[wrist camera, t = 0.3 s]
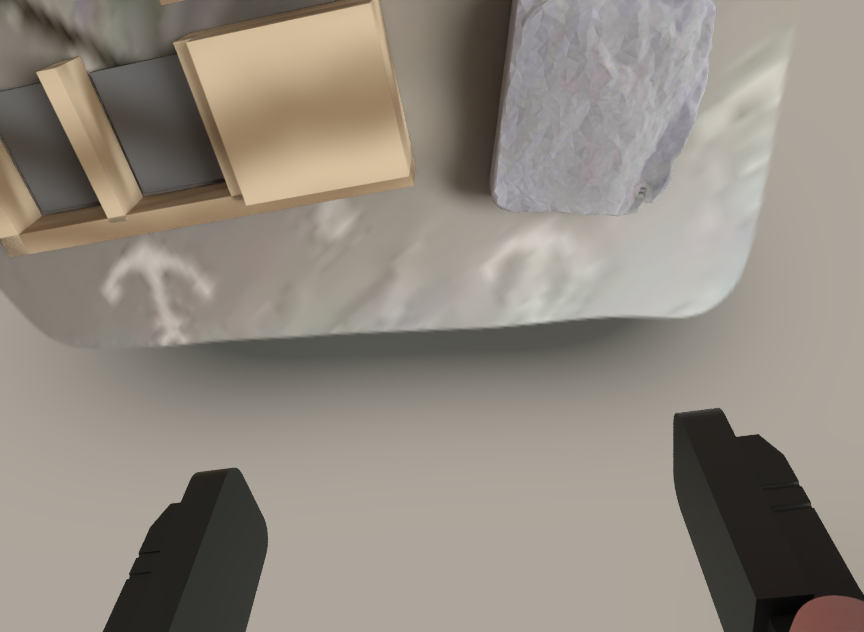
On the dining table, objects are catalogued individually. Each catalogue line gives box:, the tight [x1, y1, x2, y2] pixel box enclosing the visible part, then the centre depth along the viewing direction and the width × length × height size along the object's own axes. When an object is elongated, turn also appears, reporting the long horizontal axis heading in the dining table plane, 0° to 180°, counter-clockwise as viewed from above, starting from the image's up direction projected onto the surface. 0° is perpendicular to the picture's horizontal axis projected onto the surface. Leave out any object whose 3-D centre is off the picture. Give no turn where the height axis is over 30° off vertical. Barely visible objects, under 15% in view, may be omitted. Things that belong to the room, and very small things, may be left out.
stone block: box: [489, 0, 716, 216], centre depth 34 cm, size 12×5×10 cm
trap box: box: [0, 0, 416, 258], centre depth 32 cm, size 18×23×4 cm
